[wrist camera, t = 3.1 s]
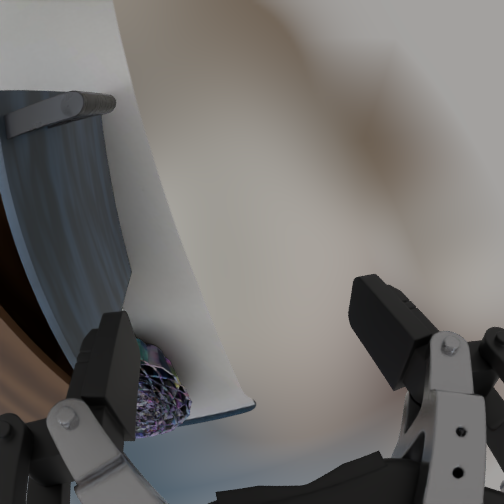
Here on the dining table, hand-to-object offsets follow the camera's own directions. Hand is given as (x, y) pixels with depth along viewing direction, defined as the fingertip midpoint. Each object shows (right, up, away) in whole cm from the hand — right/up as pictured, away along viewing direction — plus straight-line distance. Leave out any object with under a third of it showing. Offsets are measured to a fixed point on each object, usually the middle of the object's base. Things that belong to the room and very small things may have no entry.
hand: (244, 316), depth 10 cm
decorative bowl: (-25, -21, +42) cm, 54 cm away
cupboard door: (-16, +11, +28) cm, 34 cm away
